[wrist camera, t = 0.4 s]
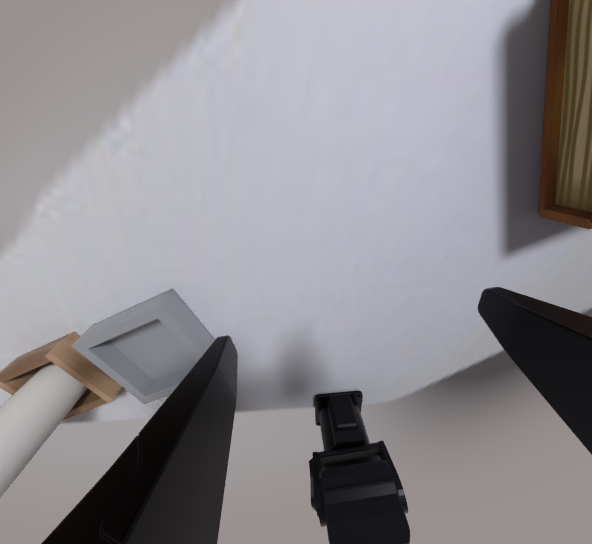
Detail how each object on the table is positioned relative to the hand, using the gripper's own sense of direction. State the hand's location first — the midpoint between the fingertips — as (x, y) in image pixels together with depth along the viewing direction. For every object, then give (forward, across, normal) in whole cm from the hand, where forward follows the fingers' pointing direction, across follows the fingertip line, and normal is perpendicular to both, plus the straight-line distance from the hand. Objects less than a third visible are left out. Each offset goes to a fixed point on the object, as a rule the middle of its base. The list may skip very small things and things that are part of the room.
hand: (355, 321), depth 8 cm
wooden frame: (+14, +29, +13) cm, 35 cm away
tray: (+14, +18, +12) cm, 25 cm away
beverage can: (+14, +29, +13) cm, 35 cm away
